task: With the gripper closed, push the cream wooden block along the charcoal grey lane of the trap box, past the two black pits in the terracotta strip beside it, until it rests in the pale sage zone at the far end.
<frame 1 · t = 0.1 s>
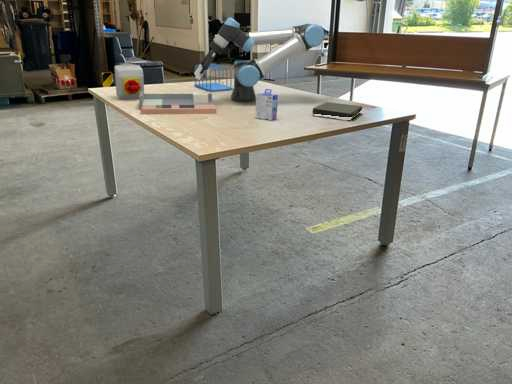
hand: (196, 76, 240), 15 cm above the table, tool tilted 35°, fingers open, 13 cm apart
block: (200, 101, 241), point 2 cm above the table, touching trap box
trap box: (179, 108, 235), on the table
file sorter: (213, 89, 299), on the table
electrical switch box: (131, 99, 256), on the table
ink cartridge box: (266, 119, 218), on the table
network switch: (337, 116, 230), on the table
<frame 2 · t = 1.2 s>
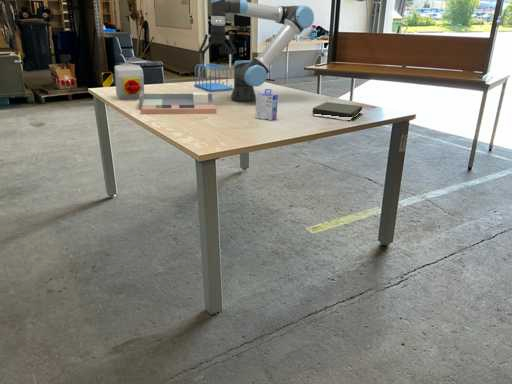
hand: (217, 66, 236), 21 cm above the table, tool pointing down, fingers open, 13 cm apart
nothing on the table moved.
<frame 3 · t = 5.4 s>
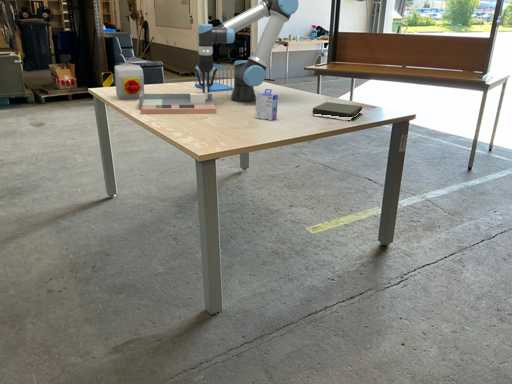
hand: (206, 98, 241), 4 cm above the table, tool pointing down, fingers closed
block: (197, 101, 241), point 3 cm above the table, touching trap box
everything else where it was.
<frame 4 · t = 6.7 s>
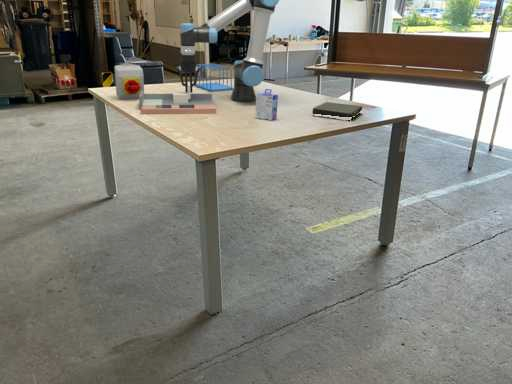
hand: (189, 98, 240), 4 cm above the table, tool pointing down, fingers closed
block: (180, 101, 240), point 3 cm above the table, touching gripper
everything else where it was.
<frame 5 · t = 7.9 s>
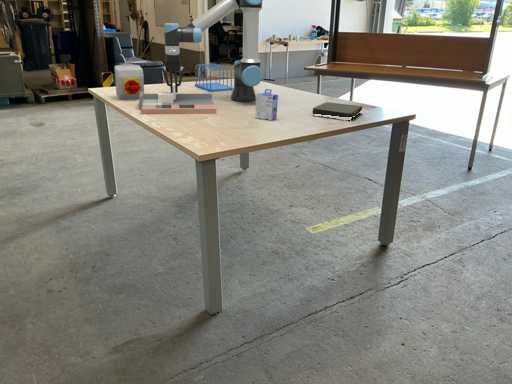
hand: (174, 98, 238), 4 cm above the table, tool pointing down, fingers closed
block: (165, 101, 238), point 3 cm above the table, touching gripper
everything else where it was.
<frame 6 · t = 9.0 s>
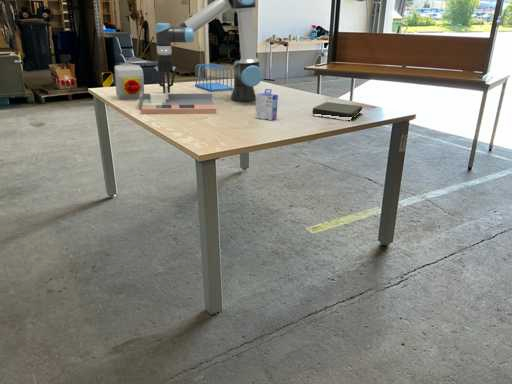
hand: (167, 99, 238), 4 cm above the table, tool pointing down, fingers closed
block: (158, 101, 237), point 2 cm above the table, touching gripper, trap box
everything else where it was.
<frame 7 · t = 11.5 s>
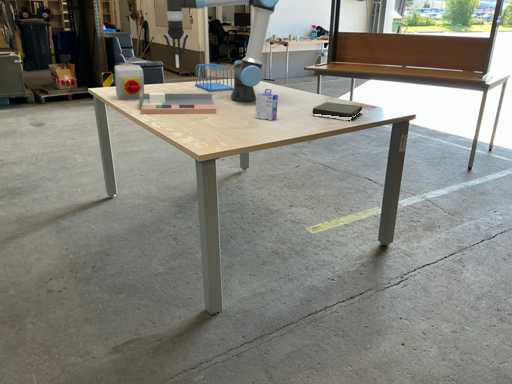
hand: (177, 67, 234), 21 cm above the table, tool pointing down, fingers closed
block: (157, 101, 237), point 2 cm above the table, touching trap box
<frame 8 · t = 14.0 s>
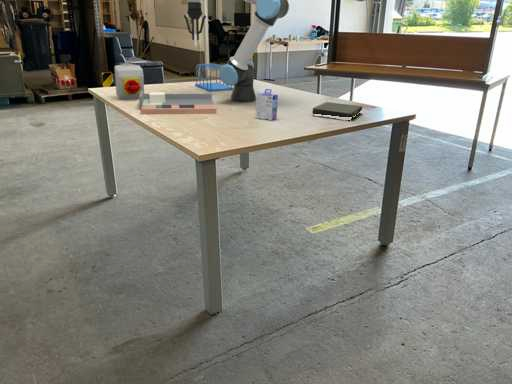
hand: (195, 46, 251), 30 cm above the table, tool pointing down, fingers closed
at the end: block inside the target area on the trap box (1.9 cm from its centre), point 2.5 cm above the trap box's base; block tilted 0° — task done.
